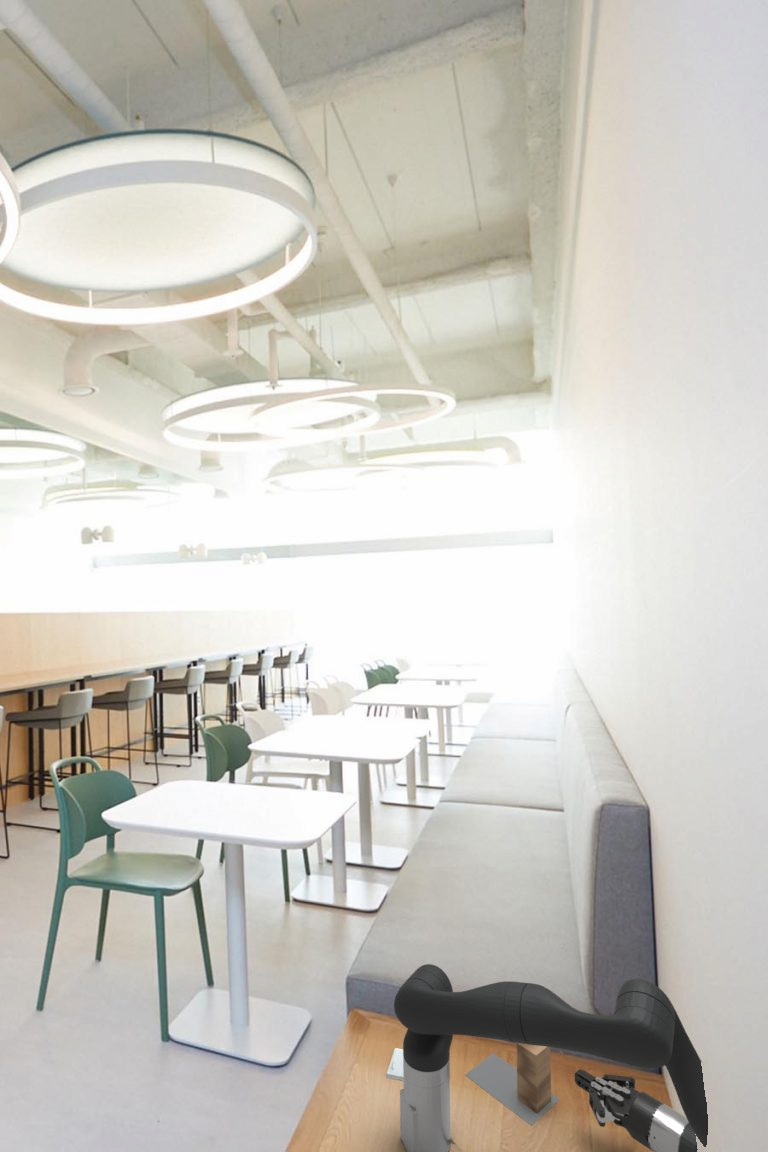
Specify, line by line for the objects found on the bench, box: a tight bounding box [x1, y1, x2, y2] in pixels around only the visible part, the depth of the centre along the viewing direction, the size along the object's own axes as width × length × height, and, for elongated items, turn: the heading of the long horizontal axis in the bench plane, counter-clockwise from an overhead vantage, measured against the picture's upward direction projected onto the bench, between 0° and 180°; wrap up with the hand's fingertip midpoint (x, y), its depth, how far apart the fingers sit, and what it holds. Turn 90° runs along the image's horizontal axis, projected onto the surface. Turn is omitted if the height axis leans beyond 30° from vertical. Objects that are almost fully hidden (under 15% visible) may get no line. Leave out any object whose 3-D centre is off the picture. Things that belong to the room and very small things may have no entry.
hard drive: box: [386, 1047, 404, 1082], centre depth 147 cm, size 2×8×12 cm
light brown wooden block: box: [516, 1043, 552, 1113], centre depth 137 cm, size 5×5×12 cm
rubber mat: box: [464, 1052, 560, 1127], centre depth 140 cm, size 18×10×1 cm, turn 41°
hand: (576, 1075), depth 129 cm, fingers closed
